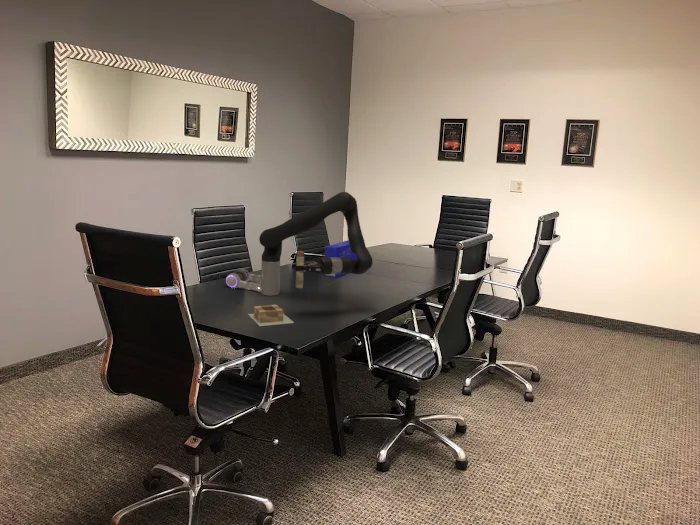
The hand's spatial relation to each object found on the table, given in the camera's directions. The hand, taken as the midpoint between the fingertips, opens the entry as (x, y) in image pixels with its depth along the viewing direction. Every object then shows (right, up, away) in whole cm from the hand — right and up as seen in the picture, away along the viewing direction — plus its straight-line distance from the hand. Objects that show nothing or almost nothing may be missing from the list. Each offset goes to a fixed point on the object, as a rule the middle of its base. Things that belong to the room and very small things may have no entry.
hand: (293, 267), depth 236 cm
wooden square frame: (-11, -22, -2) cm, 24 cm away
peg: (+2, -9, +3) cm, 9 cm away
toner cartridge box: (+21, -4, +102) cm, 104 cm away
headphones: (-29, -11, +55) cm, 63 cm away
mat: (-10, -22, -2) cm, 24 cm away
